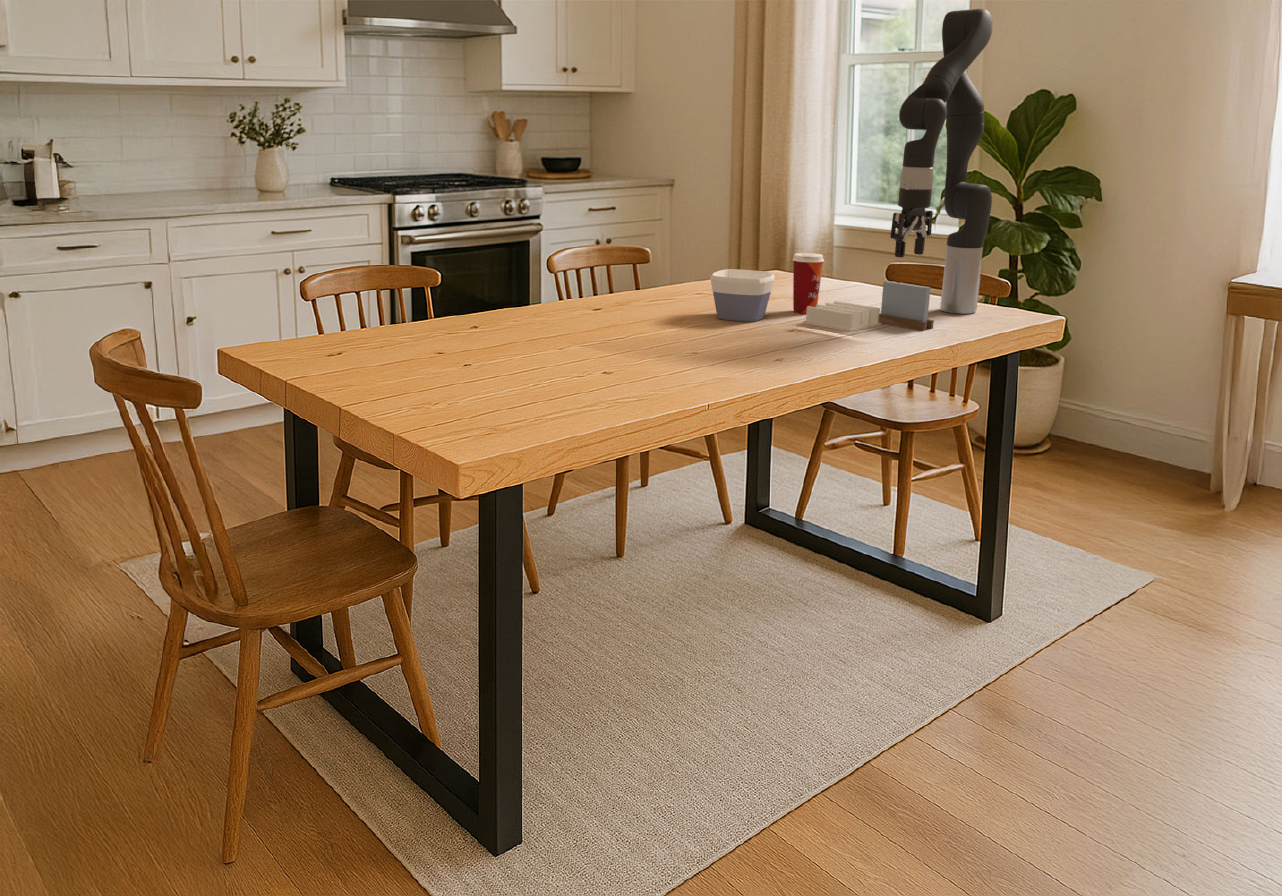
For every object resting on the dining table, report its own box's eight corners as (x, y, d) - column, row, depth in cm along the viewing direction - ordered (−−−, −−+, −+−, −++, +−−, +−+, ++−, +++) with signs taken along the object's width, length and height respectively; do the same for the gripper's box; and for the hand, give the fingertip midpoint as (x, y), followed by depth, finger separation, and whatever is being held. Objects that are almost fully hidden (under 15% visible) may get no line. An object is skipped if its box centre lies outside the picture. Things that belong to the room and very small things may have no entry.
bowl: (702, 320, 273) (704, 275, 270) (721, 310, 287) (723, 267, 283) (761, 325, 268) (763, 280, 264) (778, 315, 281) (780, 272, 278)
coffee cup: (819, 315, 281) (823, 257, 277) (787, 313, 283) (791, 256, 278) (821, 309, 289) (825, 253, 284) (790, 308, 291) (793, 251, 286)
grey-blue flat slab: (884, 321, 272) (887, 281, 269) (926, 328, 264) (930, 287, 261) (880, 321, 270) (883, 281, 267) (922, 329, 262) (926, 288, 259)
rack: (833, 319, 277) (835, 300, 275) (880, 327, 268) (882, 308, 266) (803, 325, 268) (804, 306, 267) (850, 334, 259) (852, 314, 257)
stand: (883, 322, 274) (884, 311, 273) (933, 331, 264) (934, 320, 263) (872, 325, 270) (873, 314, 269) (922, 334, 261) (923, 322, 260)
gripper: (918, 184, 264) (911, 252, 269) (885, 186, 255) (879, 256, 260) (945, 186, 259) (938, 255, 264) (913, 188, 250) (906, 259, 254)
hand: (909, 255), depth 262 cm, fingers open, 8 cm apart
